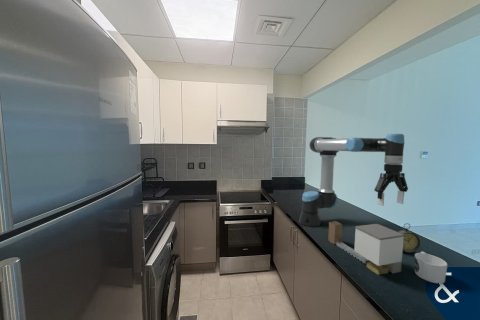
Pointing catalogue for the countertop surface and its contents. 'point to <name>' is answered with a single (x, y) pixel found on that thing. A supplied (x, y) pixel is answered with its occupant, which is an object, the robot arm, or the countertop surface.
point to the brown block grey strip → (335, 238)
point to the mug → (430, 267)
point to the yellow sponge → (377, 268)
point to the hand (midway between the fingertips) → (390, 204)
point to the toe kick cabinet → (380, 245)
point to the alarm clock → (410, 240)
